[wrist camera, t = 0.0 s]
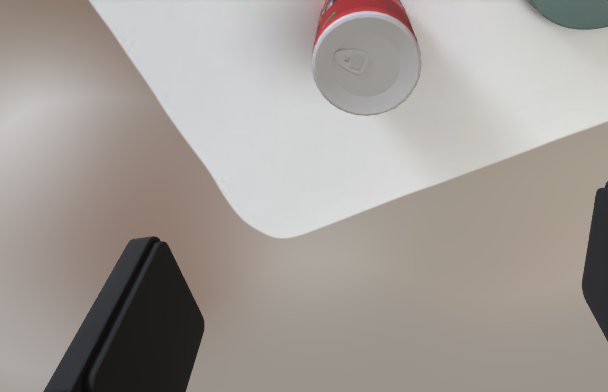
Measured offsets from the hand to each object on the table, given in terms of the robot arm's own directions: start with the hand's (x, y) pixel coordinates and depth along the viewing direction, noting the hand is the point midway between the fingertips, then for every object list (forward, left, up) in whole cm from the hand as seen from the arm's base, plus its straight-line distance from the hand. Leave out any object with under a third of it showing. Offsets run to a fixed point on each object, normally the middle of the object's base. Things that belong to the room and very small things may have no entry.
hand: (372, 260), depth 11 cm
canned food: (+5, 0, -37) cm, 37 cm away
